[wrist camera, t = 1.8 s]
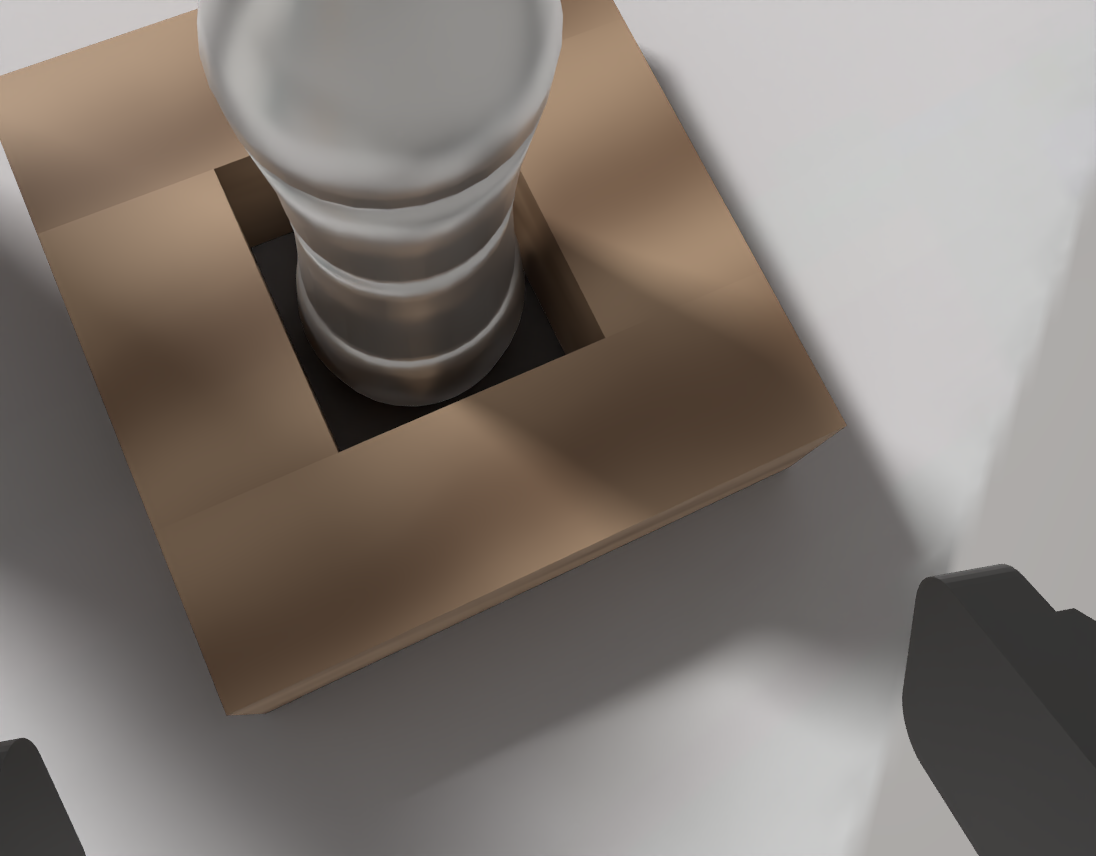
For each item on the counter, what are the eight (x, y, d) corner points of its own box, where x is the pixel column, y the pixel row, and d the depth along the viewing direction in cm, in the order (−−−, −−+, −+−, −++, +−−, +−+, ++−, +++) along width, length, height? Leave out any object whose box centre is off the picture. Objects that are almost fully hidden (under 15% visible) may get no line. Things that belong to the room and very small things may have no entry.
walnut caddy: (49, 174, 33) (-22, 83, 28) (539, -2, 36) (551, -112, 31) (265, 713, 29) (226, 715, 24) (789, 467, 32) (846, 425, 27)
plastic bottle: (276, 383, 32) (-15, -115, 12) (358, 193, 33) (216, -502, 14) (477, 453, 32) (502, 63, 12) (548, 259, 33) (668, -349, 14)
